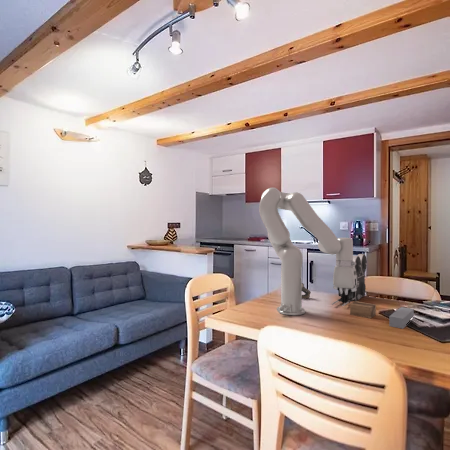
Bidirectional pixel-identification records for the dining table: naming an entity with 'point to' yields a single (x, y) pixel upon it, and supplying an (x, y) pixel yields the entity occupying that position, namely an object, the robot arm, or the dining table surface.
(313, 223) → the robot arm
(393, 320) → the board
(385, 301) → the dining table surface
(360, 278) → the film camera
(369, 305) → the walnut block
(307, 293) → the futuristic pistol
